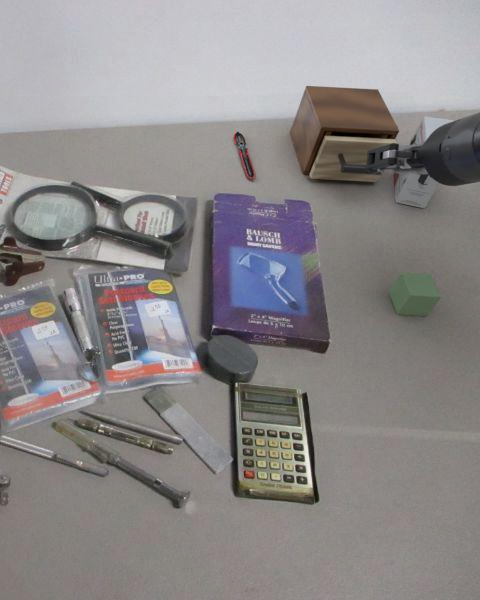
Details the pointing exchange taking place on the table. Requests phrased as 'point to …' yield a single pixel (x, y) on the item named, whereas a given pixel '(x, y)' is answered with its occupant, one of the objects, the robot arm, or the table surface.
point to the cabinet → (337, 118)
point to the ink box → (416, 185)
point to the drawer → (346, 156)
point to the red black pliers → (244, 155)
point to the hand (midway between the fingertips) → (401, 168)
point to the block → (414, 294)
